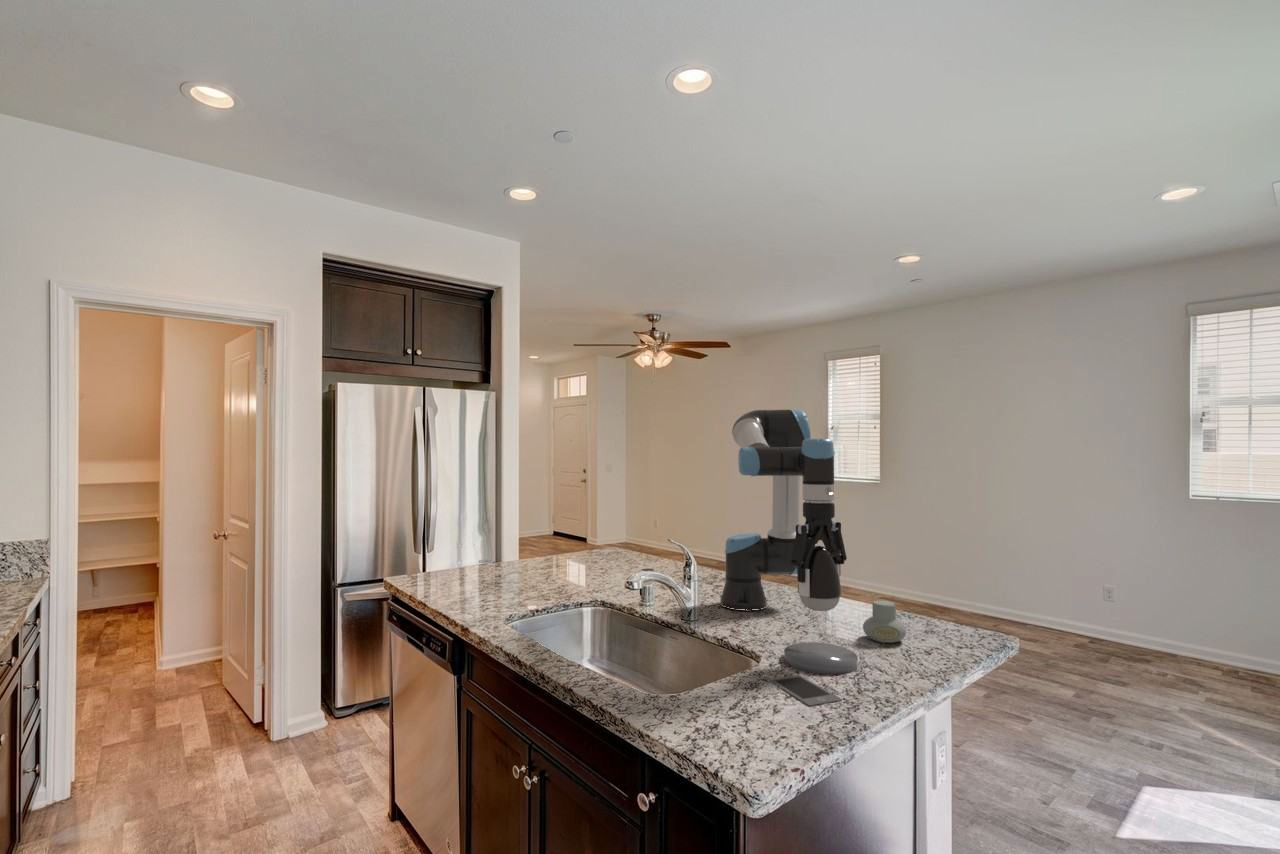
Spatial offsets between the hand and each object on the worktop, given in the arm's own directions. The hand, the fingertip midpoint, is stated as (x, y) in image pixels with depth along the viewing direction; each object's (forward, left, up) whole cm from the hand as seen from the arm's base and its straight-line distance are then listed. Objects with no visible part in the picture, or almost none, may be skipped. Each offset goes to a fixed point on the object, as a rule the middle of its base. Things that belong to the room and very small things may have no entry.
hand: (819, 593), depth 149 cm
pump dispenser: (0, 0, -4) cm, 4 cm away
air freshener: (-28, -2, -17) cm, 33 cm away
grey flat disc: (0, 0, -17) cm, 17 cm away
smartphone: (+17, +10, -17) cm, 26 cm away
